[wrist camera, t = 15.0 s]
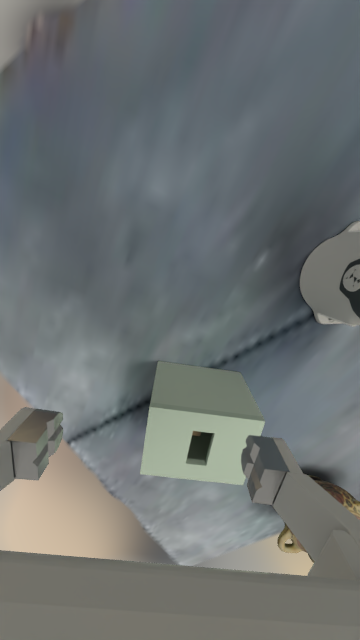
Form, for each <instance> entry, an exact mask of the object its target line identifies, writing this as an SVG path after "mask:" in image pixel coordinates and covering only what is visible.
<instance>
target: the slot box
mask: <svg viewBox="0 0 360 640" xmlns="http://www.w3.org/2000/svg"><path fill="white" fill-rule="evenodd" d="M264 424H265V420H264V418H263V416H262V414H261V412H260V410H259V408H258V406H257V404H256V402H255V400H254V398H253V396H252V394H251V392H250V390H249V388H248V386H247V384H246V382H245V381H244V379H243V377H242V375H241V373H240V372H234V371H227V370H220V369H212V368H205V367H198V366H191V365H183V364H176V363H169V362H162V361H158V363H157V369H156V374H155V380H154V385H153V391H152V396H151V402H150V407H149V414H148V422H147V429H146V436H145V443H144V450H143V457H142V464H141V471H140V474H144V475H153V476H163V477H172V478H181V479H191V480H200V481H209V482H219V483H228V484H237V485H243V484H244V481H245V478H246V476H245V475H244V474H243V470H242V465H241V454H242V451H243V449H244V448H245V447H247V445H246V442H245V441H246V439H247V437H248V435H254V436H260V435H261V432H262V429H263V427H264ZM193 431H199V432H201V434H200V436H194V435H192V433H193Z"/></svg>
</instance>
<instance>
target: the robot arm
mask: <svg viewBox="0 0 360 640" xmlns="http://www.w3.org/2000/svg"><path fill="white" fill-rule="evenodd" d="M300 290H301V293H302V296H303V298H304V300H305V301H306V303H307V304H308V305H309V306H310V307H311V308H312V310H313V312H314V316H315V319H316V321H317V322H318V323H321V324H346V325H349V326H353V327H355V326H356V325H360V221H355V222H353V223H352V224H350V225H349V226H348V227H347V228H346V229H345V230H344V231H343V232H342V233H340V234H339V235H337V236H334V237H332V238H330V239H328V240H326V241H324V242H323V243H321V244H320V245H319V246H318V247H317V248H316V249H315V250H314V251H313V252H312V253H311V254H310V255H309V257H308V258H307V260H306V262H305V264H304V266H303V268H302V271H301V276H300ZM328 318H329V319H328ZM62 420H63V413H61V412H56V411H49V410H42V409H33V408H27V407H25V408H22V409H21V410H20V411H19V412H18V413H17V414H16V415H15V416H14V417H13V418H12V419H11V420H10V421H9V422H8V423H7V424H6V425H5V426H4V427H3V428H2V429H1V430H0V491H1V490H2V489H3V488H5V487H6V486H7V485H8V484H10V483H11V482H12V481H14V479H27V480H39V478H40V477H41V475H42V473H43V472H44V470H45V468H46V467H47V465H48V464H49V463H48V457H50V456H51V455H53V454H54V453H55V452H56V450H57V448H58V447H59V444H60V442H61V439H62V435H63V428H62V426H61V425H60V423H61V422H62ZM245 442H246V445H247V447H245V448H244V449H243V451H242V454H241V465H242V470H243V474H244V475H245V476H246V477H247V478H248V479H249V480H248V483H247V487H248V490H249V494H250V497H251V500H252V502H253V503H261V504H268V505H273V508H274V509H275V510H276V512H277V513H278V514H279V515H280V517H281V518H282V519H283V521H284V522H285V523H286V525H287V526H288V527H289V529H290V530H291V531H292V533H293V534H294V535H295V536H296V538H297V539H298V540H299V542H300V543H301V544H302V546H303V547H304V548H305V550H306V551H307V552H308V554H309V555H310V556H311V557H312V559H313V560H314V561H315V563H314V564H313V566H312V568H311V570H310V571H309V573H308V576H301V575H288V574H276V573H264V572H253V571H241V570H228V569H217V568H205V567H194V566H182V565H169V564H157V563H146V562H134V561H122V560H109V559H98V558H86V557H73V556H61V555H50V554H37V553H26V552H14V551H1V550H0V640H360V520H359V519H358V518H357V517H356V516H354V515H353V514H352V513H351V512H350V511H349V510H347V509H346V508H345V507H344V506H343V505H342V504H341V503H339V502H338V501H337V500H336V499H335V498H334V497H332V496H331V495H330V494H329V493H328V492H327V491H325V490H324V489H323V488H322V487H321V486H320V485H318V484H317V483H316V482H315V481H314V480H313V479H312V478H310V477H309V476H308V475H306V474H303V472H302V471H301V469H300V467H299V465H298V464H297V462H296V460H295V458H294V457H293V455H292V453H291V451H290V450H289V448H288V446H287V444H286V443H285V441H284V440H283V439H282V438H272V437H271V438H270V437H263V436H254V435H248V437H247V439H246V441H245Z"/></svg>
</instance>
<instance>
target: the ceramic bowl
mask: <svg viewBox="0 0 360 640" xmlns="http://www.w3.org/2000/svg"><path fill="white" fill-rule="evenodd" d="M308 476H309V477H310V478H312V479H313V480H314V481H315V482H316V483H317V484H318V485H320V486H321V487H322V488H323V489H324V490H325V491H327V492H328V493H329V494H330V495H331V496H332V497H334V498H335V499H336V500H337V501H338V502H339V503H341V504H342V505H343V506H344V507H345V508H346V509H347V510H349V511H350V512H351V513H352V514H353V515H354V516H356V517H357V518H358V519H359V520H360V502H359V501H357V500H356V499H355V498H354V497H353V496H352V495H351V494H350V493H348V492H347V491H345V490H344V489H342V488H341V487H339V486H337V485H334V484H332V483H329V482H325V481H322V480H321V479H320V478H318V477H316V476H312V475H308ZM284 523H285V522H284ZM287 539H291V540H292V542H293V543H292V544H285V542H286V540H287ZM278 547H279V548H280V549H281V551H284V552H286V553H298V552H300V551H305V552H307V551H306V550H305V548H304V547H303V546H302V544H301V543H300V542H299V540H298V539H297V538H296V536H295V535H294V534H293V533H292V531H291V530H290V529H289V527H288V526H287V525H286V523H285V528H284V530H283V531H282V532H281V533H280V535H279V537H278ZM307 553H308V552H307ZM308 555H309V554H308ZM309 557H310V559H311V560H312V562H314V563H315V561H314V560H313V559H312V557H311V556H310V555H309Z"/></svg>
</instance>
